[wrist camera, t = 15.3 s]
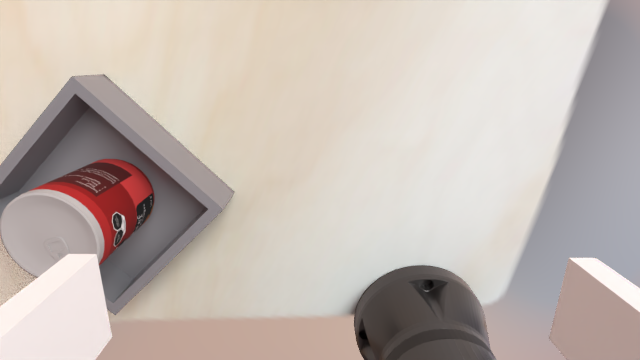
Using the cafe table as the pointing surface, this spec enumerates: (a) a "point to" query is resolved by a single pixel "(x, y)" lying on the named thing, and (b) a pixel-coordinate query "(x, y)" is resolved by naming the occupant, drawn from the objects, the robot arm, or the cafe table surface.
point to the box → (131, 146)
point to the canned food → (77, 215)
